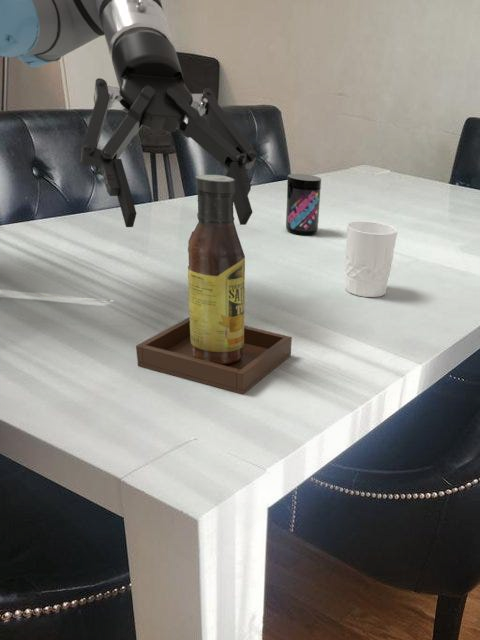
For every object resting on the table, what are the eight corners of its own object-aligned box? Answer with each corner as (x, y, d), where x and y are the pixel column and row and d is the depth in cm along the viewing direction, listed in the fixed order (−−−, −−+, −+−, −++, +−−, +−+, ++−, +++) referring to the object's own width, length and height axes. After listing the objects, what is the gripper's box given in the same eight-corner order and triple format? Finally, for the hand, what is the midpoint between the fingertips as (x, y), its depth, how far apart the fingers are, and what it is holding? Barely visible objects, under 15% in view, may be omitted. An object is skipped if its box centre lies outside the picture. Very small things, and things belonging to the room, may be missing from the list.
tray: (137, 365, 75) (135, 345, 73) (196, 331, 85) (195, 313, 83) (242, 394, 72) (243, 373, 70) (291, 355, 82) (292, 336, 80)
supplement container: (279, 231, 133) (281, 175, 127) (295, 225, 138) (298, 172, 132) (307, 237, 131) (311, 182, 125) (323, 232, 136) (327, 178, 130)
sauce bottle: (240, 370, 75) (240, 186, 64) (185, 365, 75) (177, 179, 64) (247, 348, 81) (249, 175, 70) (197, 343, 80) (191, 169, 69)
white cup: (360, 301, 102) (367, 235, 96) (332, 285, 107) (337, 222, 101) (398, 295, 106) (407, 232, 100) (370, 281, 111) (377, 220, 105)
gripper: (27, 12, 67) (79, 200, 65) (251, 41, 79) (299, 200, 77) (27, 67, 73) (74, 240, 72) (234, 86, 86) (278, 234, 84)
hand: (191, 219), depth 74 cm, fingers open, 13 cm apart
